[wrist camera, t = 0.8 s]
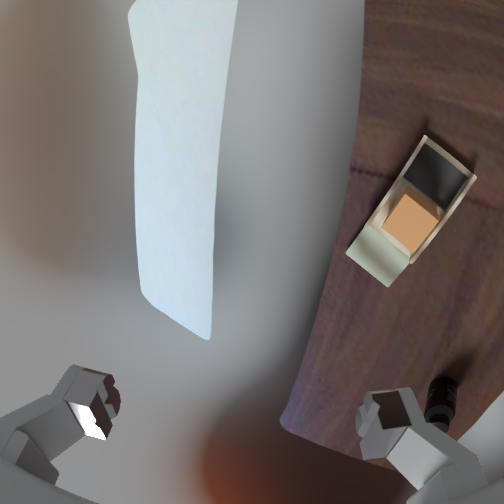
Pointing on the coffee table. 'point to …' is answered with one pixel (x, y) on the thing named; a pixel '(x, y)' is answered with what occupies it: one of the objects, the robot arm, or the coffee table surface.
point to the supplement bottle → (441, 403)
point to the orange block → (411, 219)
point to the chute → (426, 185)
